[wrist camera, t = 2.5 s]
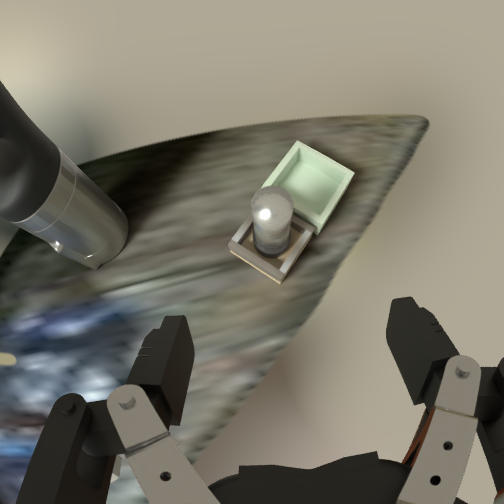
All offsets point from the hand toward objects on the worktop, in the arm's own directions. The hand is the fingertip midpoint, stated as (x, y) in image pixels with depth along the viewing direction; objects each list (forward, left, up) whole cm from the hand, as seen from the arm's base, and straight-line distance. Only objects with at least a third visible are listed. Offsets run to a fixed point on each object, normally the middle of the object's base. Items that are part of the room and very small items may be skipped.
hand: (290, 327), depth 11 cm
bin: (+17, +7, -26) cm, 32 cm away
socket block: (+9, +7, -26) cm, 28 cm away
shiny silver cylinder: (+9, +7, -25) cm, 27 cm away
